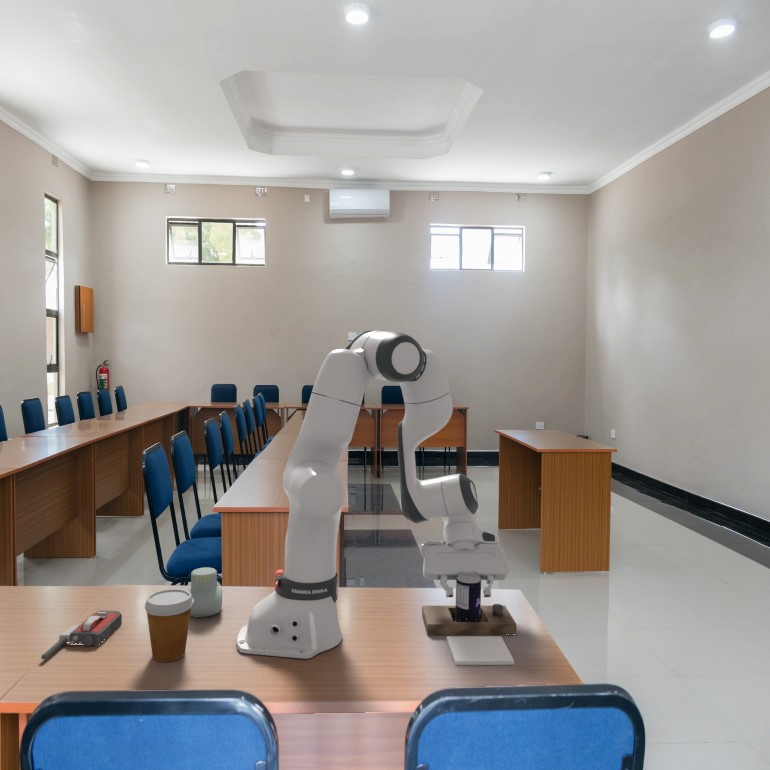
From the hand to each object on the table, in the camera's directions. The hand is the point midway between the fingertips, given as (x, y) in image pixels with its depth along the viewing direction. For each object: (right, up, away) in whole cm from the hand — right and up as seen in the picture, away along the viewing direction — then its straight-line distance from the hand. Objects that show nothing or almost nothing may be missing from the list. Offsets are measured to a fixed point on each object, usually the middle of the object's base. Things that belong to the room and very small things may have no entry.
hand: (468, 596), depth 141 cm
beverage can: (0, -7, +1) cm, 7 cm away
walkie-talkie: (-83, -6, -10) cm, 84 cm away
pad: (0, -8, -12) cm, 14 cm away
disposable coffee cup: (-63, -7, -16) cm, 66 cm away
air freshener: (-63, -6, +5) cm, 63 cm away
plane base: (0, -7, +1) cm, 7 cm away
